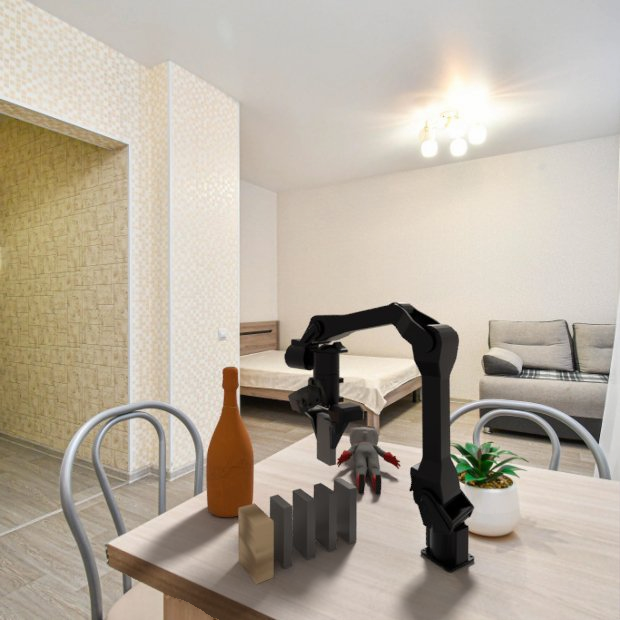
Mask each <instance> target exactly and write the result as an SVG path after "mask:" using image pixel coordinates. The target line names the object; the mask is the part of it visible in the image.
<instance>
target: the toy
mask: <svg viewBox="0 0 620 620" xmlns="http://www.w3.org/2000/svg"><path fill="white" fill-rule="evenodd" d="M379 437H380V436H379V434H378V429H377V428H376V426H371V425H367V426H361V425H356V426H352V428H350V432H349V442H350V447H349V448H348V450H345V449H344V450H343V451H342V453H341V454H340V455H339V457H338V458H336V466H337V468H340V466H341V465H342V464H343V463H345V462H347V461H349V460H350V459H351V457H352V456H353V461H354V462H353V463H354V464H353V467H354V472H355V475H356V479H355V480H356V483H355V484H356V487H357V490H358V494H365V490H366V489H365V487H366V475H367V473H368V476H370V478H371V483H372V487H373V489H374V492H375V495H382V494H381V493H382V475H381V469H380V468H381V466H380V459H379V457H381V458H382V459H383V461H385V462H387V463H389V464H391V465H392V466H394V467H395V468H396V469H397V470H399V469H400V467H401V464H400V463H401V461H400V460H399V459H398V458H397V456H396V455H393V454H392V453H391V452H390V451H385V450H383V449H381V447H380V446H378V443H379Z"/></svg>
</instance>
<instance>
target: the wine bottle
mask: <svg viewBox="0 0 620 620" xmlns="http://www.w3.org/2000/svg"><path fill="white" fill-rule="evenodd" d="M239 386H240V383H239V369H238V367H235V366H225V367H223V369H222V381H221V388H222V389H223V401H222V407H221V413H220V416H219V419H218V422H217V424H216V426H215V428H214V431H213V433H212V435H211V438H210V442H209V444H208V448H207V452H206V462H205V463H206V464H205V465H206V470H205V471H206V474H205V476H206V477H205V478H206V480H205V481H206V501H207V502H206V504H207V509H208V511H209V512H210V513H211V515H212V514H213V515H214V516H216V517H219V518H220V517H221V518H233V517H238V508H240V507H243V506H247V505H251V504H254V503H253V502H254V487H255V486H254V479H255V477H254V476H255V475H254V474H255V466H254V463H255V460H254V459H255V457H254V449H253V446H252V444H253V443H252V442H251V438H250V435H249V433H248V430H247V427H246V426H245V424H244V422H243V421H244V420H243V419H242V417H241V415H240V414H241V412H240V409H239V404H238V394H237V392H238V388H239Z"/></svg>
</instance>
